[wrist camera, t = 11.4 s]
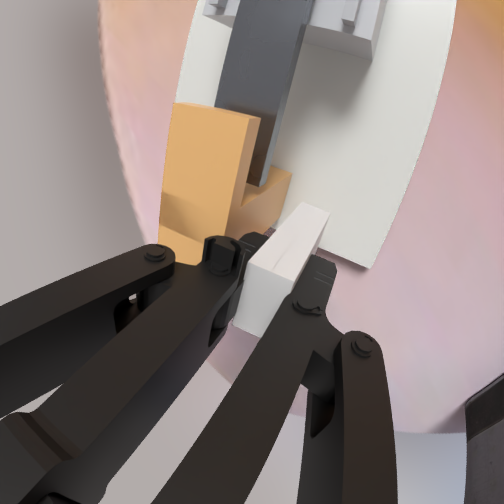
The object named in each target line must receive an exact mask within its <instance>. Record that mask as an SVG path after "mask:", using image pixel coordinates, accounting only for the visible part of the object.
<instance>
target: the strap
mask: <svg viewBox="0 0 504 504" xmlns="http://www.w3.org/2000/svg"><path fill="white" fill-rule="evenodd" d="M312 4H313V0H240V3H239V6H238V10H237V13H236V17H235V21H234V24H233V28H232V32H231V36H230V40H229V44H228V48H227V52H226V56H225V60H224V64H223V68H222V73H221V77H220V81H219V86H218V90H217V95H216V100H215V104H214V107H216V108H221V109H225V110H230V111H234V112H239V113H243V114H247V115H251V116H255V117H259V118H261V121H260V125H259V129H258V133H257V137H256V142H255V146H254V150H253V154H252V159H251V163H250V167H249V172H248V176H247V180H246V183H248V184H251V185H254V186H257V187H260V186H262V185H264V184H265V183H266V180H267V176H268V172H269V168H270V164H271V161H272V157H273V153H274V149H275V145H276V141H277V137H278V134H279V130H280V126H281V122H282V118H283V114H284V111H285V107H286V103H287V99H288V95H289V91H290V88H291V84H292V80H293V76H294V72H295V68H296V65H297V61H298V57H299V53H300V49H301V46H302V42H303V38H304V34H305V30H306V27H307V23H308V19H309V15H310V12H311V8H312Z"/></svg>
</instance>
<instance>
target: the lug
mask: <svg viewBox="0 0 504 504" xmlns="http://www.w3.org/2000/svg"><path fill="white" fill-rule="evenodd" d="M260 121H261V118H259V117H255V116H251V115H247V114H243V113H239V112H234V111H230V110H225V109H221V108H216V107H211V106H206V105H201V104H196V103H190V102H180V103H173V109H172V115H171V121H170V128H169V135H168V142H167V149H166V157H165V165H164V174H163V183H162V193H161V205H160V217H159V231H158V244H161V245H165V246H167V247H169V248H171V249H172V250H173V251H174V252H175V257H176V259H175V261H176V262H180V263H184V264H189V265H197V264H198V263H200V262H201V260H202V254H203V247H204V240H205V238H207V237H210V236H216V235H220V236H227V237H231V238H234V239H236V240H237V241H238V240H239V239H240V238H241V237H242V236H243V235H244V234H247V233H250V232H254V231H255V232H257V233H260V234H262V235H263V234H264V233H265V232H266V231H267V230H268V229H269V228H270V227H271V226H272V225H273V224H274V223H275V221H276V220H277V219H278V218H279V217H280V215H281V212H282V208H283V205H284V201H285V198H286V194H287V191H288V188H289V184H290V181H291V177H292V174H293V173H290V172H288V171H285V170H282V169H279V168H276V167H273V166H270V168H269V172H268V176H267V180H266V183H265V184H264V185H262V186H260V187H257V186H254V185H251V184H248V183H246V180H247V176H248V172H249V167H250V163H251V159H252V154H253V150H254V146H255V142H256V137H257V133H258V129H259V125H260Z"/></svg>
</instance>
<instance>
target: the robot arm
mask: <svg viewBox="0 0 504 504" xmlns="http://www.w3.org/2000/svg"><path fill="white" fill-rule="evenodd" d="M329 216H330V212H327V211H325V210H322V209H319V208H317V207H314V206H312V205H309V204H307V203H304V202H302V203H301V204H300V205H299V206H298V207H297V208H296V209H295V210H294V211H293V212H292V214H291V215H290V216H289V217H288V218H287V219H286V220H285V221H284V222H283V224H282V225H281V226H280V227H279V228H278V229H277V230H276V231H275V232H274V233H273V235H272V236H271V237H267V236H265V235H262V234H260V233H257V232H255V231H254V232H250V233H247V234H244V235H243V236H242V237H241V238H240V239H239V240H238V241H237V240H236V239H234V238H231V237H227V236H220V235H216V236H210V237H207V238H205V240H204V247H203V254H202V260H201V262H200V263H198V264H197V265H189V264H184V263H180V262H176V261H175V259H176V257H175V252H174V251H173V250H172V249H171V248H169V247H167V246H165V245H161V244H149V245H144V246H141V247H139V248H137V249H134V250H131V251H128V252H126V253H123V254H121V255H119V256H116V257H114V258H111V259H108V260H106V261H103V262H101V263H98V264H96V265H93V266H91V267H89V268H86V269H84V270H81V271H79V272H76V273H74V274H72V275H69V276H67V277H65V278H62V279H60V280H58V281H55V282H53V283H51V284H48V285H46V286H44V287H41V288H39V289H37V290H35V291H32V292H30V293H28V294H26V295H23V296H21V297H19V298H17V299H15V300H12V301H10V302H8V303H6V304H4V305H2V306H0V418H2V417H4V416H6V415H7V416H6V417H4V418H3V419H2V420H1V421H0V504H98V503H99V502H100V500H101V499H102V498H103V496H104V494H105V491H106V487H107V485H108V483H109V482H110V480H111V479H112V478H113V477H114V475H115V474H116V473H117V472H118V471H119V469H120V468H121V467H122V466H123V465H124V463H125V462H126V461H127V460H128V458H129V457H130V456H131V455H132V453H133V452H134V451H135V450H136V449H137V447H138V446H139V445H140V444H141V442H142V441H143V440H144V439H145V437H146V436H147V435H148V434H149V432H150V431H151V430H152V428H153V427H154V426H155V425H156V423H157V422H158V421H159V420H160V418H161V417H162V416H163V415H164V413H165V412H166V411H167V409H168V408H169V407H170V406H171V404H172V403H173V402H174V400H175V399H176V398H177V397H178V395H179V394H180V393H181V391H182V390H183V389H184V388H185V386H186V385H187V384H188V382H189V381H190V380H191V378H192V377H193V376H194V374H195V373H196V372H197V371H198V369H199V368H200V367H201V365H202V364H203V363H204V361H205V360H206V359H207V357H208V356H209V355H210V353H211V352H212V351H213V349H214V348H215V347H216V345H217V344H218V343H219V341H220V340H221V339H222V337H223V336H224V335H225V332H226V330H227V326H228V323H229V321H230V320H231V319H232V317H233V316H234V318H233V322H232V325H234V326H236V327H238V328H240V329H242V330H244V331H246V332H248V333H250V334H253V335H255V336H257V337H259V338H261V339H260V341H259V342H258V344H257V346H256V347H255V349H254V351H253V352H252V354H251V356H250V357H249V359H248V360H247V362H246V364H245V365H244V367H243V369H242V370H241V372H240V373H239V375H238V377H237V378H236V380H235V381H234V383H233V385H232V386H231V388H230V389H229V391H228V393H227V394H226V396H225V397H224V399H223V400H222V402H221V403H220V405H219V407H218V408H217V410H216V411H215V413H214V414H213V416H212V417H211V419H210V421H209V422H208V424H207V425H206V427H205V428H204V430H203V431H202V432H201V434H200V436H199V437H198V438H197V440H196V441H195V443H194V444H193V446H192V447H191V449H190V450H189V451H188V453H187V454H186V456H185V457H184V459H183V460H182V462H181V463H180V464H179V466H178V467H177V469H176V470H175V472H174V473H173V474H172V476H171V477H170V479H169V480H168V481H167V483H166V484H165V485H164V487H163V488H162V489H161V491H160V492H159V493H158V495H157V496H156V498H155V499H154V500H153V502H152V503H151V504H244V502H245V501H246V499H247V497H248V495H249V493H250V491H251V490H252V488H253V486H254V484H255V482H256V480H257V478H258V476H259V474H260V472H261V470H262V468H263V466H264V464H265V462H266V460H267V458H268V456H269V454H270V452H271V450H272V447H273V445H274V443H275V441H276V439H277V437H278V435H279V432H280V430H281V428H282V426H283V423H284V421H285V419H286V416H287V414H288V412H289V410H290V407H291V405H292V403H293V400H294V398H295V395H296V393H297V390H298V388H299V385H300V383H301V384H302V385H303V386H305V387H306V388H307V389H309V390H308V394H307V408H306V421H305V434H304V445H303V454H302V464H301V472H300V481H299V489H298V497H297V504H398V498H397V497H398V494H397V469H396V454H395V441H394V430H393V421H392V412H391V404H390V397H389V390H388V383H387V377H386V371H385V365H384V359H383V354H382V350H381V348H380V345H379V344H378V343H377V341H376V340H375V339H374V338H372V337H371V336H370V335H368V334H366V333H363V332H361V331H350V332H347V333H345V335H344V334H342V333H341V332H340V331H338V330H337V329H336V328H335V327H333V326H332V325H331V323H330V322H329V321H328V319H327V317H326V313H325V309H326V305H327V302H328V299H329V296H330V293H331V290H332V287H333V284H334V280H335V277H336V274H337V269H336V266H335V263H333V262H330V261H328V260H326V259H323V258H321V257H318V256H316V255H315V253H316V251H317V248H318V246H319V243H320V240H321V238H322V235H323V232H324V229H325V227H326V224H327V221H328V219H329ZM133 294H136V298H135V299H132V300H129V297H130V296H131V295H133ZM63 383H64V384H63ZM61 384H63V385H61ZM60 385H61V386H60ZM58 386H60V387H59V388H58V389H57V390H56V391H55V392H54V393H53V394H52V395H51V396H50V397H49V398H48V399H47V400H46V401H45V402H44V403H43V404H42V405H40V406H39V407H38V408H37V409H36V410H34V411H32V412H30V413H24V412H15V413H12V414H9V413H11V412H13V411H15V410H17V409H18V408H20V407H22V406H24V405H26V404H28V403H29V402H31V401H33V400H35V399H37V398H38V397H40V396H42V395H44V394H46V393H47V392H49V391H51V390H53V389H54V388H56V387H58ZM8 414H9V415H8Z"/></svg>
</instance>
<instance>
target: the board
mask: <svg viewBox="0 0 504 504" xmlns="http://www.w3.org/2000/svg"><path fill="white" fill-rule="evenodd" d="M456 1H457V0H313V4H312V8H311V12H310V15H309V19H308V23H307V27H306V30H305V34H304V38H303V42H302V46H301V49H300V53H299V57H298V61H297V65H296V68H295V72H294V76H293V80H292V84H291V88H290V91H289V95H288V99H287V103H286V107H285V111H284V114H283V118H282V122H281V126H280V130H279V134H278V137H277V141H276V145H275V149H274V153H273V157H272V161H271V164H270V166H273V167H276V168H279V169H282V170H285V171H288V172H290V173H293V174H292V177H291V181H290V184H289V188H288V191H287V194H286V198H285V201H284V205H283V208H282V212H281V215H280V217H279V218H278V219H277V220H276V221H275V223H274V224H273V225H272V226H271V227H270V228H273V229H275V230H277V229H278V228H279V227H280V226H281V225H282V224H283V222H284V221H285V220H286V219H287V218H288V217H289V216H290V215H291V214H292V212H293V211H294V210H295V209H296V208H297V207H298V206H299V205H300V204H301V203H302V202H304V203H307V204H309V205H312V206H314V207H317V208H319V209H322V210H325V211H327V212H330V216H329V219H328V221H327V224H326V227H325V229H324V232H323V235H322V238H321V240H320V243H319V246H318V247H319V248H322V249H324V250H326V251H329V252H331V253H334V254H336V255H338V256H341V257H343V258H345V259H348V260H350V261H352V262H355V263H357V264H359V265H362V266H364V267H366V268H369V269H371V267H372V265H373V263H374V261H375V259H376V257H377V255H378V253H379V251H380V248H381V246H382V244H383V242H384V240H385V238H386V236H387V233H388V231H389V229H390V227H391V224H392V222H393V220H394V218H395V215H396V213H397V211H398V208H399V206H400V204H401V201H402V199H403V196H404V194H405V191H406V189H407V186H408V184H409V181H410V179H411V176H412V173H413V171H414V168H415V165H416V162H417V160H418V157H419V154H420V151H421V148H422V145H423V142H424V139H425V136H426V133H427V130H428V127H429V124H430V121H431V117H432V114H433V111H434V107H435V104H436V100H437V97H438V93H439V89H440V85H441V81H442V77H443V73H444V69H445V64H446V60H447V55H448V50H449V45H450V40H451V35H452V29H453V23H454V16H455V9H456ZM239 3H240V0H198V2H197V6H196V9H195V13H194V17H193V20H192V24H191V28H190V32H189V36H188V40H187V45H186V49H185V53H184V58H183V62H182V67H181V72H180V77H179V82H178V87H177V93H176V98H175V103H180V102H190V103H196V104H201V105H206V106H211V107H214V104H215V100H216V95H217V90H218V86H219V81H220V77H221V73H222V68H223V64H224V60H225V56H226V52H227V48H228V44H229V40H230V36H231V32H232V28H233V24H234V21H235V17H236V13H237V10H238V6H239Z"/></svg>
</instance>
